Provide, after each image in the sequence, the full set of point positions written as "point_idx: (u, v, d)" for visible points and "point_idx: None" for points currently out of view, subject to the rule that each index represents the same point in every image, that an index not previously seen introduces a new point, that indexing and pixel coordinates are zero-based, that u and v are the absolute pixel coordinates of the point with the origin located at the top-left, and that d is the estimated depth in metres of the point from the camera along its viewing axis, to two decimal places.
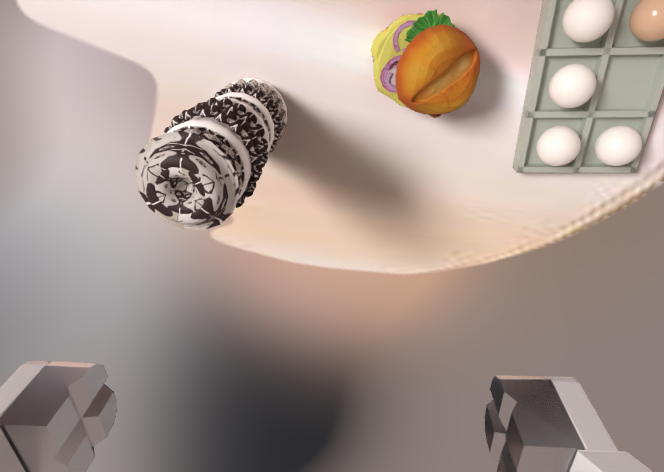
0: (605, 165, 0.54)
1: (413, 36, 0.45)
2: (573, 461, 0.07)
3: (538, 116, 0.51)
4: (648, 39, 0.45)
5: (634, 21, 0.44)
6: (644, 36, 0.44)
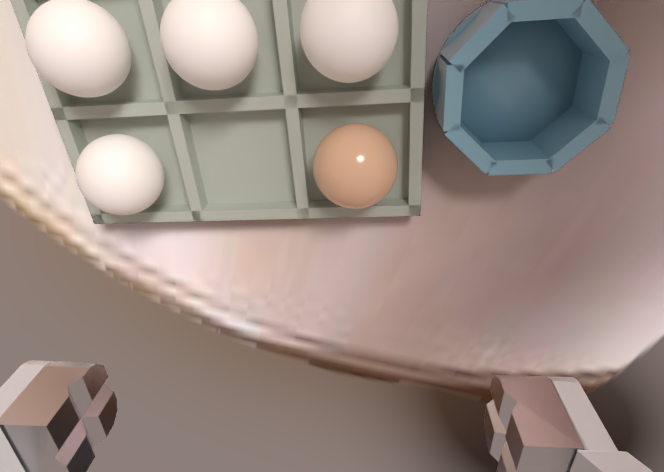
0: None
1: None
2: (573, 461, 0.07)
3: None
4: (315, 162, 0.23)
5: (345, 128, 0.22)
6: (319, 153, 0.23)
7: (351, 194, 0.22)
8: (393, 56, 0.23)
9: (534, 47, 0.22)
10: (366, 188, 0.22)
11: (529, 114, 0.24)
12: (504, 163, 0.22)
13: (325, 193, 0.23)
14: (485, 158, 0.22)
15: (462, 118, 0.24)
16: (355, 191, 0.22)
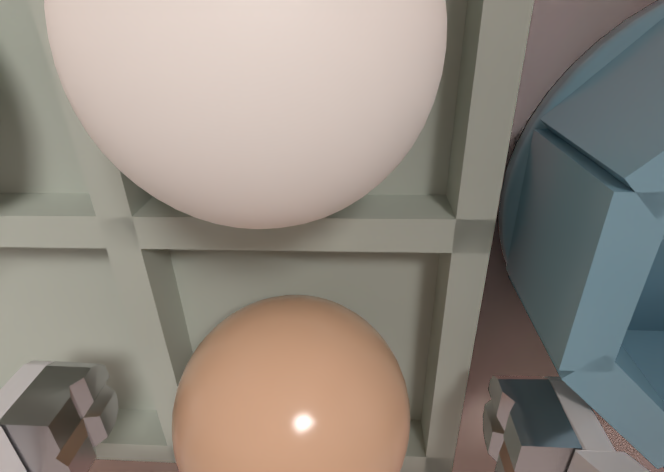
0: None
1: None
2: (571, 461, 0.07)
3: None
4: (172, 421, 0.08)
5: (259, 338, 0.07)
6: (180, 410, 0.07)
7: None
8: None
9: None
10: None
11: None
12: None
13: None
14: None
15: None
16: None
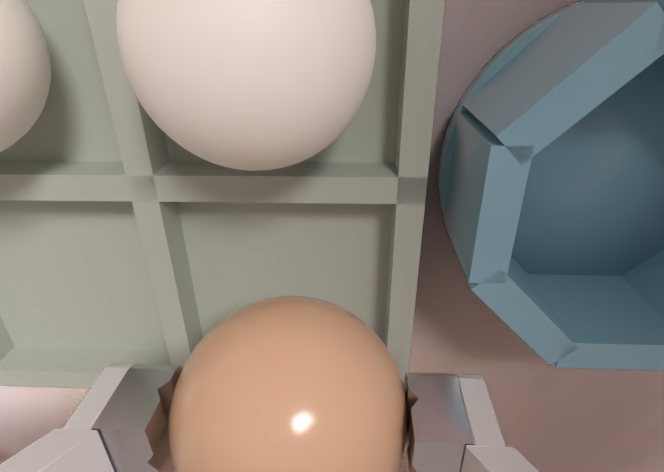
0: None
1: None
2: (463, 456, 0.07)
3: None
4: (169, 422, 0.08)
5: (256, 339, 0.07)
6: (177, 411, 0.07)
7: None
8: (363, 105, 0.11)
9: (658, 105, 0.11)
10: None
11: (626, 231, 0.12)
12: (592, 348, 0.10)
13: None
14: (554, 337, 0.10)
15: None
16: None
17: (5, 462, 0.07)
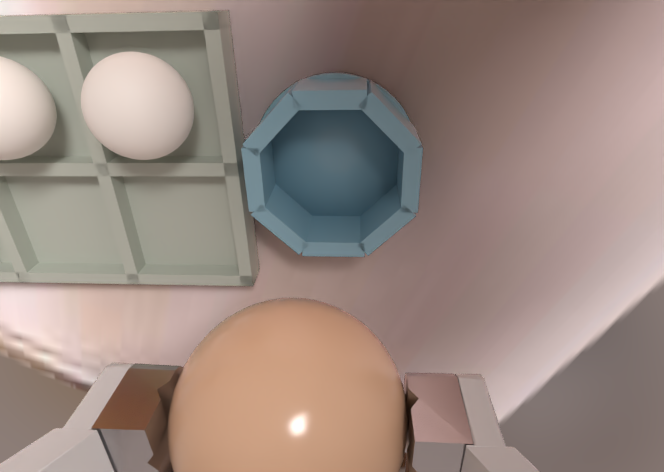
0: None
1: None
2: (463, 457, 0.07)
3: None
4: (168, 426, 0.08)
5: (255, 342, 0.07)
6: (177, 413, 0.07)
7: None
8: (208, 127, 0.22)
9: (350, 126, 0.22)
10: None
11: (355, 191, 0.23)
12: (316, 245, 0.22)
13: None
14: (296, 239, 0.22)
15: (288, 191, 0.24)
16: None
17: (5, 462, 0.07)
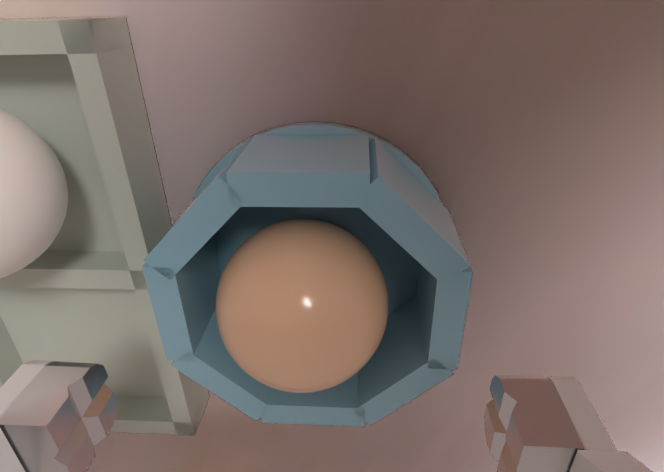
0: None
1: None
2: (573, 461, 0.07)
3: None
4: (216, 298, 0.11)
5: (279, 237, 0.11)
6: (223, 285, 0.11)
7: (279, 382, 0.10)
8: (107, 209, 0.13)
9: (341, 210, 0.13)
10: (311, 376, 0.10)
11: None
12: (283, 409, 0.13)
13: (234, 360, 0.11)
14: (249, 400, 0.13)
15: None
16: (286, 379, 0.10)
17: None
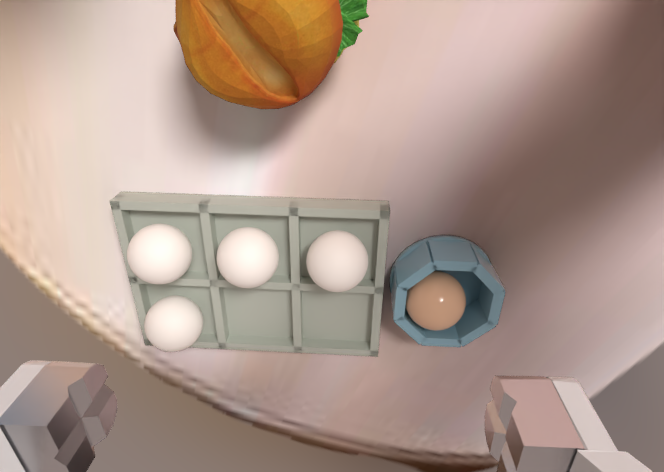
0: (148, 310, 0.38)
1: None
2: (573, 461, 0.07)
3: (202, 219, 0.33)
4: None
5: (432, 277, 0.33)
6: (411, 289, 0.33)
7: (424, 322, 0.33)
8: None
9: None
10: (435, 322, 0.32)
11: None
12: (431, 339, 0.35)
13: None
14: (419, 336, 0.35)
15: None
16: (427, 322, 0.32)
17: None
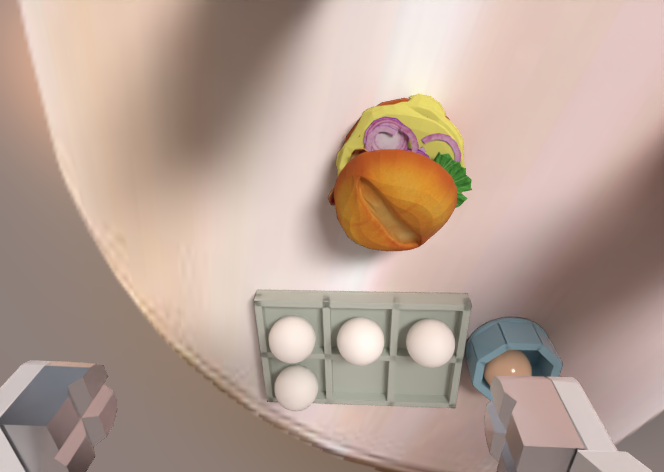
0: (271, 375, 0.48)
1: (441, 163, 0.32)
2: (573, 461, 0.07)
3: (324, 312, 0.43)
4: None
5: (505, 353, 0.42)
6: (488, 362, 0.43)
7: None
8: None
9: None
10: None
11: None
12: None
13: None
14: None
15: None
16: None
17: None
